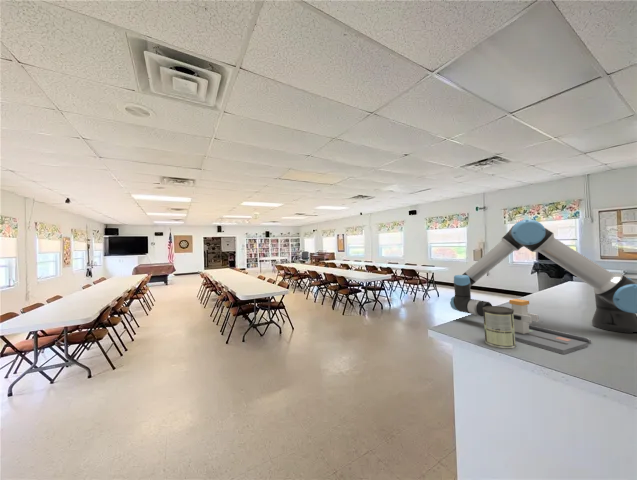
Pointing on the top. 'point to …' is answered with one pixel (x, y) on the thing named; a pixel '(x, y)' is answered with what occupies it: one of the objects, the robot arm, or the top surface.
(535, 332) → the switch panel
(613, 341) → the top surface
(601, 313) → the robot arm
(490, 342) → the coffee can
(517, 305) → the breaker handle
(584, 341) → the grey flat bar
